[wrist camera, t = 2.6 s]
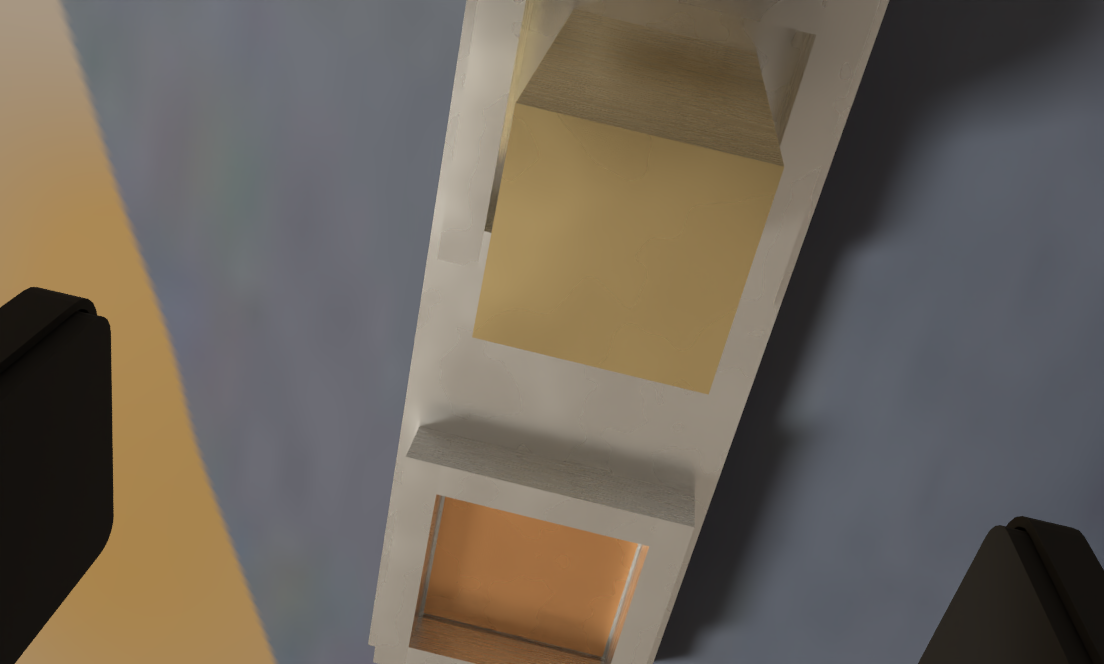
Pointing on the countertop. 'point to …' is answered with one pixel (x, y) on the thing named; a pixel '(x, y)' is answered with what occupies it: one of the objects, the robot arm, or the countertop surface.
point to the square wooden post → (631, 202)
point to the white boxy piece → (580, 373)
